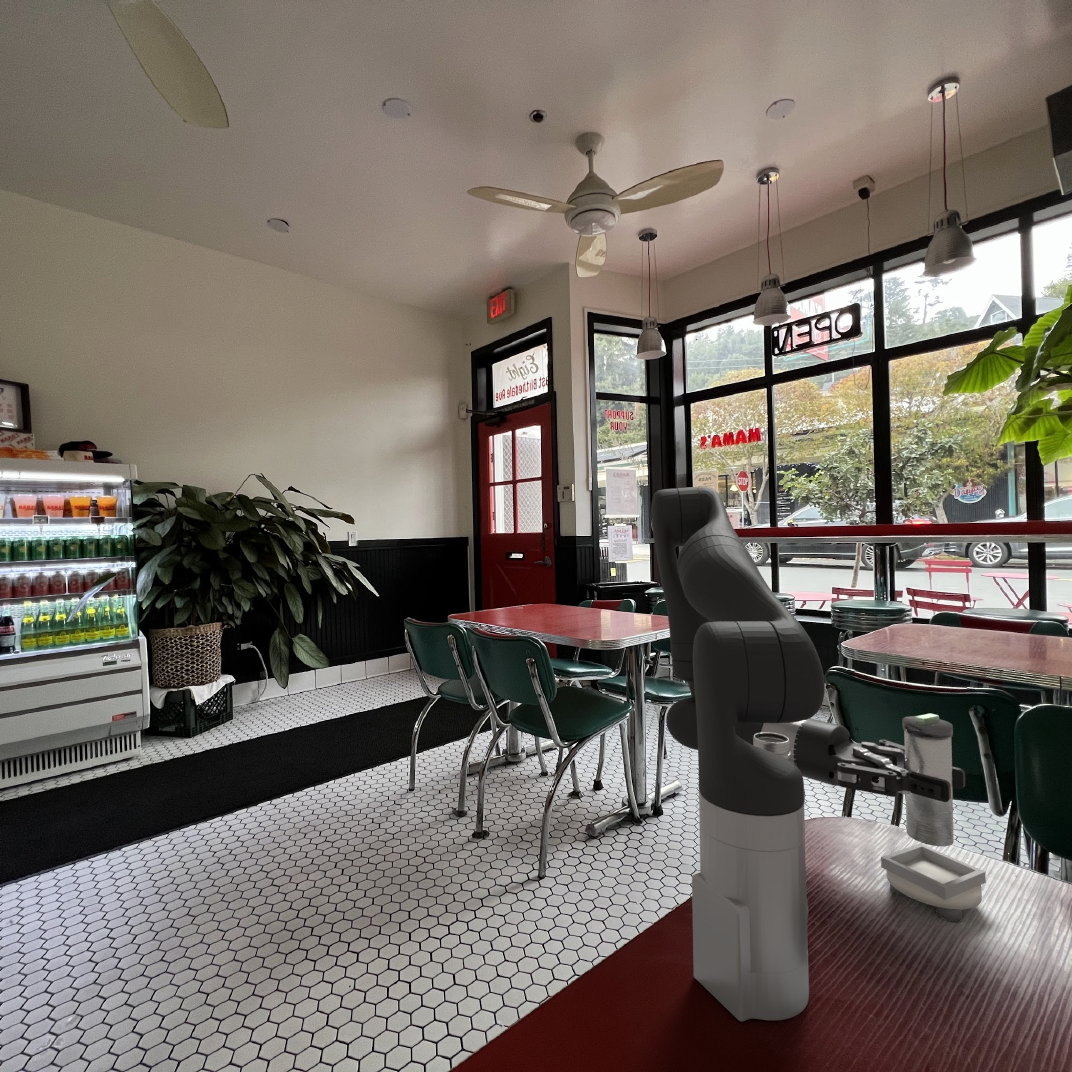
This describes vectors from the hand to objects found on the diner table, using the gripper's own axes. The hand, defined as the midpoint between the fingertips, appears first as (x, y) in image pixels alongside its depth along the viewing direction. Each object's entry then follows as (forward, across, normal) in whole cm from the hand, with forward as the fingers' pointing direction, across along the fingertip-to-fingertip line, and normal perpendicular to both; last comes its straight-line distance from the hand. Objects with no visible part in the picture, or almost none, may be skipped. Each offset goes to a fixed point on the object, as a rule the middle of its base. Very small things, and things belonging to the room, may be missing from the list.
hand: (956, 785), depth 66 cm
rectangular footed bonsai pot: (-2, 0, +14) cm, 14 cm away
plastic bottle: (-11, -18, +14) cm, 26 cm away
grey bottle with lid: (-3, 0, +7) cm, 7 cm away
